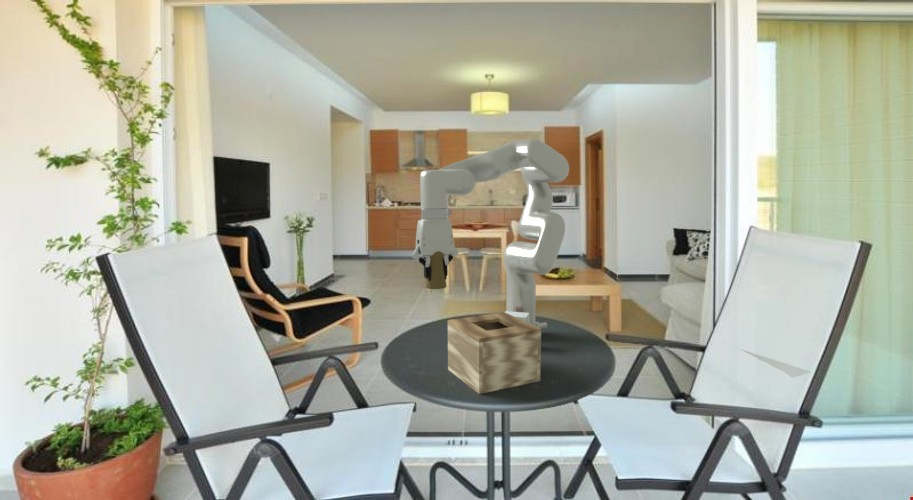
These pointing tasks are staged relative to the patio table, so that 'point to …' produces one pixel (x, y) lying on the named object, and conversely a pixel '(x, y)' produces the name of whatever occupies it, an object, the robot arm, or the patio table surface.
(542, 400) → the patio table surface
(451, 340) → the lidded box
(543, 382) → the patio table surface
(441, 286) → the cork
